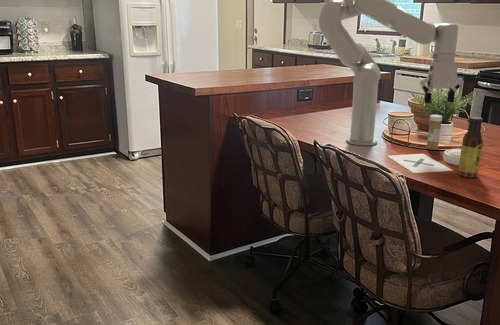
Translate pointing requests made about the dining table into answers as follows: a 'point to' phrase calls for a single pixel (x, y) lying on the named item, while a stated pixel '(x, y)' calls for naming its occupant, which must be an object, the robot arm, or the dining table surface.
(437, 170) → the letter sheet
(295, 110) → the dining table surface
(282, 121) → the dining table surface
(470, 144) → the sauce bottle
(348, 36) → the robot arm
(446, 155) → the cheese wheel
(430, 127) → the sprinkles bottle
